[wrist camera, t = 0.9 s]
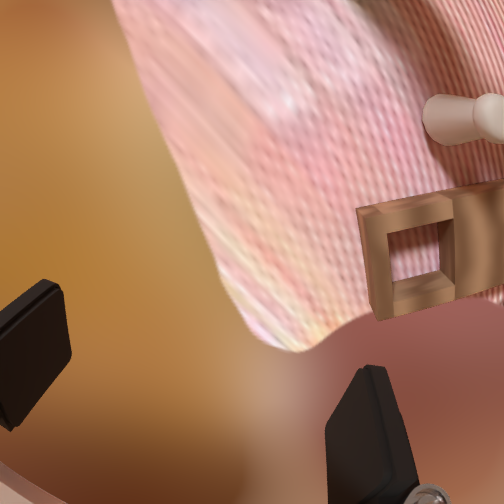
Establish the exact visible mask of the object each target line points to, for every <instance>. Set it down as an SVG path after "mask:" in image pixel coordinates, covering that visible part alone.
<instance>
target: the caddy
mask: <svg viewBox="0 0 504 504" xmlns="http://www.w3.org/2000/svg"><path fill="white" fill-rule="evenodd" d="M356 214H357V219H358V225H359V231H360V237H361V244H362V250H363V257H364V264H365V272H366V279H367V288H368V296H369V303H370V305H371V307H372V310H373V312H374V314H375V316H376V319H377V321H382V320H386V319H389V318H393V317H397V316H401V315H405V314H409V313H412V312H416V311H420V310H423V309H427V308H430V307H434V306H437V305H440V304H444V303H447V302H450V301H454V300H457V299H460V298H463V297H466V296H469V295H472V294H475V293H478V292H481V291H484V290H487V289H490V288H493V287H496V286H499V285H501V284H504V178H503V179H498V180H493V181H487V182H482V183H477V184H472V185H467V186H462V187H456V188H451V189H446V190H441V191H436V192H431V193H426V194H422V195H417V196H412V197H407V198H402V199H397V200H392V201H388V202H383V203H378V204H374V205H369V206H364V207H359V208H356ZM435 222H437V224H438V238H439V259H440V270H438V271H434V272H430V273H426V274H423V275H419V276H415V277H411V278H407V279H403V280H399V281H395V282H392V278H391V267H390V257H389V248H388V240H387V233H391V232H396V231H400V230H404V229H409V228H413V227H418V226H422V225H426V224H431V223H435Z"/></svg>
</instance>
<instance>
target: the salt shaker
mask: <svg viewBox="0 0 504 504" xmlns="http://www.w3.org/2000/svg"><path fill="white" fill-rule="evenodd" d="M422 122H423V124H424V126H425V129H426V131H427V133H428V134H429V135H430V137H431V138H432V139H433V140H434V141H436V142H438V143H440V144H442V145H444V146H455V145H459V144H463V143H467V142H471V141H475V140H479V139H483V138H484V139H485V140H487V141H488V142H490V143H494V144H504V96H502V95H501V94H494V93H486V94H484V95H482V96H480V97H478V98H477V99H473V98H468V97H462V96H457V95H451V94H436V95H435V96H433V97H431V98H429V99H428V100H427V102H426V104H425V106H424V108H423V116H422Z"/></svg>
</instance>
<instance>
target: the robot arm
mask: <svg viewBox="0 0 504 504" xmlns="http://www.w3.org/2000/svg"><path fill="white" fill-rule="evenodd" d="M71 356H72V351H71V345H70V340H69V334H68V326H67V319H66V311H65V304H64V294H63V291H62V290H61V288H60V286H59V285H58V284H57V283H54V282H52V281H49V280H46V279H42V280H40V281H39V282H38V283H36V284H35V285H34V286H32V287H31V288H30V289H28V290H27V291H26V292H24V293H23V294H22V295H21V296H20V297H18V298H17V299H15V300H14V301H13V302H11V303H10V304H9V305H8V306H6V307H5V308H4V309H3V310H1V311H0V425H1V426H3V427H4V428H6V429H7V430H8V431H10V432H11V431H12V430H13V428H14V427H18V426H19V425H20V424H21V423H22V422H23V420H24V419H25V418H26V416H27V415H28V414H29V412H30V411H31V409H32V408H33V407H34V406H35V404H36V403H37V402H38V400H39V399H40V398H41V397H42V395H43V394H44V393H45V391H46V390H47V389H48V388H49V386H50V385H51V384H52V382H53V381H54V380H55V379H56V378H57V376H58V375H59V374H60V373H61V371H62V370H63V369H64V368H65V366H66V365H67V364H68V362H69V361H70V359H71ZM325 444H326V462H327V486H328V504H451V501H450V498H449V496H448V494H447V493H446V492H445V491H444V490H443V489H442V488H441V487H439V486H437V485H434V484H422V485H420V483H419V479H418V475H417V470H416V466H415V462H414V458H413V454H412V451H411V447H410V443H409V440H408V436H407V432H406V429H405V425H404V422H403V419H402V416H401V413H400V412H399V409H398V405H397V402H396V399H395V395H394V392H393V389H392V386H391V383H390V380H389V377H388V374H387V370H386V369H385V367H382V366H375V365H366V366H364V368H363V369H362V368H359V369H358V370H357V372H356V374H355V376H354V378H353V379H352V381H351V383H350V385H349V387H348V388H347V390H346V392H345V393H344V395H343V397H342V399H341V400H340V402H339V404H338V405H337V407H336V409H335V410H334V412H333V414H332V415H331V417H330V419H329V420H328V422H327V424H326V427H325ZM0 504H67V503H65V502H63V501H61V500H60V499H58V498H56V497H54V496H53V495H51V494H49V493H47V492H46V491H44V490H42V489H40V488H39V487H37V486H35V485H34V484H32V483H31V482H29V481H27V480H26V479H24V478H23V477H21V476H20V475H18V474H17V473H15V472H14V471H12V470H11V469H10V468H8V467H7V466H5V465H4V464H3V463H1V462H0Z"/></svg>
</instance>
